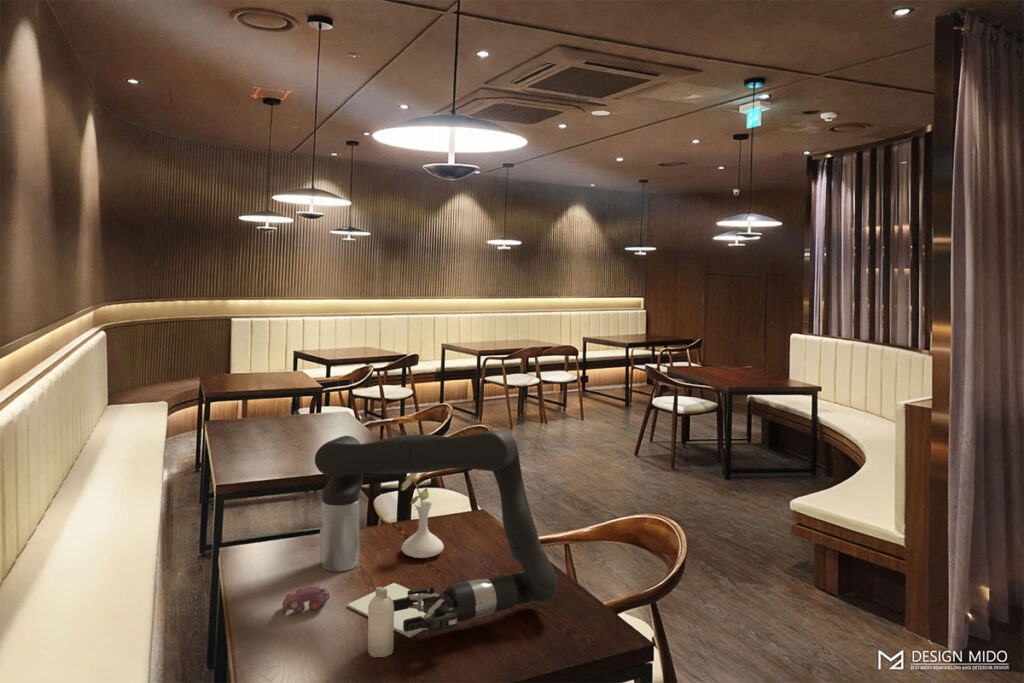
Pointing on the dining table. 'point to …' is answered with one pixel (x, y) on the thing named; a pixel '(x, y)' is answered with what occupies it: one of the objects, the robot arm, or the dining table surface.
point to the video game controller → (305, 598)
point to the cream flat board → (399, 616)
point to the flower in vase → (421, 527)
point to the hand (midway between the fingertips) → (397, 616)
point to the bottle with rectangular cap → (380, 624)
